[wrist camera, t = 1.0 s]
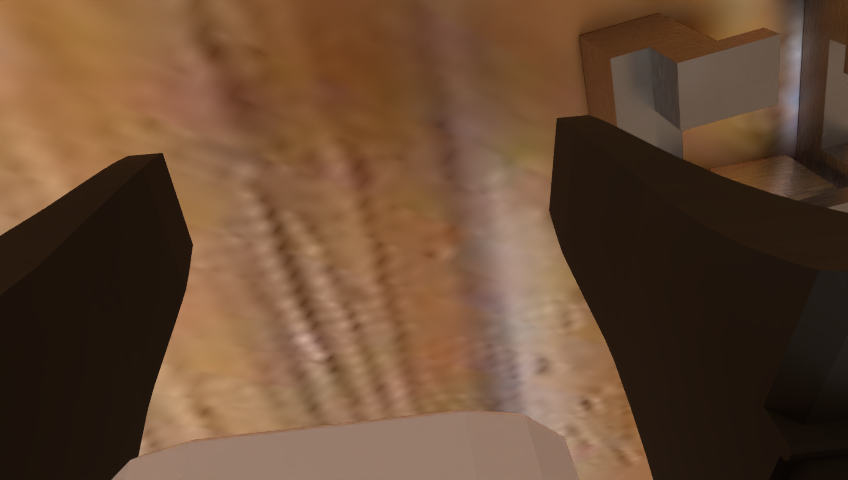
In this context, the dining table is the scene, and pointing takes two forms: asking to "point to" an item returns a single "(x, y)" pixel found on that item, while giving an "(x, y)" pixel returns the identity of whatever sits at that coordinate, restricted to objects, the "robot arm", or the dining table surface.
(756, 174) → the beige rectangular bar
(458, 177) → the dining table surface
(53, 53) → the dining table surface
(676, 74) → the collar block
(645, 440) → the robot arm
